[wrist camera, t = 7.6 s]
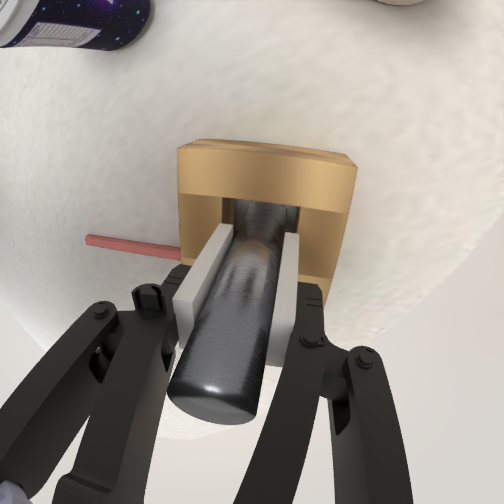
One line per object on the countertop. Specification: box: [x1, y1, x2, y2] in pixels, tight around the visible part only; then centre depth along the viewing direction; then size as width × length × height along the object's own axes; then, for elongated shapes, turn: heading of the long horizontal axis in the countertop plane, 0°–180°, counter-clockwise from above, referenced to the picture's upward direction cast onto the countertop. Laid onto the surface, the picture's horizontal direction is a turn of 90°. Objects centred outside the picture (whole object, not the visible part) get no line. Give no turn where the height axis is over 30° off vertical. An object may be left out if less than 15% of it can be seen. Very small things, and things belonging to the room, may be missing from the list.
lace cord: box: [85, 235, 182, 261], centre depth 23 cm, size 12×1×1 cm, turn 86°
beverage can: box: [0, 0, 150, 51], centre depth 8 cm, size 6×6×12 cm
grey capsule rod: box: [167, 201, 287, 425], centre depth 14 cm, size 3×3×15 cm
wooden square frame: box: [177, 139, 358, 310], centre depth 18 cm, size 10×10×4 cm
